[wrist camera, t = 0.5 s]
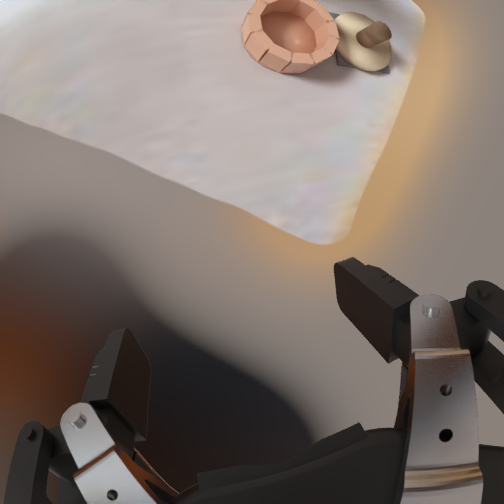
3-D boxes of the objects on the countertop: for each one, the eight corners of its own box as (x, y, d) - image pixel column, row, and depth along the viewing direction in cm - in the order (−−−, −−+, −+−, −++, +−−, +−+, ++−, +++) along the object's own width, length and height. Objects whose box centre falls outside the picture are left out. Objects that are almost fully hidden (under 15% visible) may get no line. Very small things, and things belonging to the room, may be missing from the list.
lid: (324, 9, 28) (342, -7, 22) (379, 22, 30) (401, 11, 24) (336, 66, 32) (359, 55, 26) (392, 76, 33) (416, 69, 28)
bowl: (237, 6, 26) (243, -11, 22) (315, 11, 28) (329, -2, 24) (246, 74, 30) (255, 62, 26) (328, 75, 32) (345, 67, 28)
